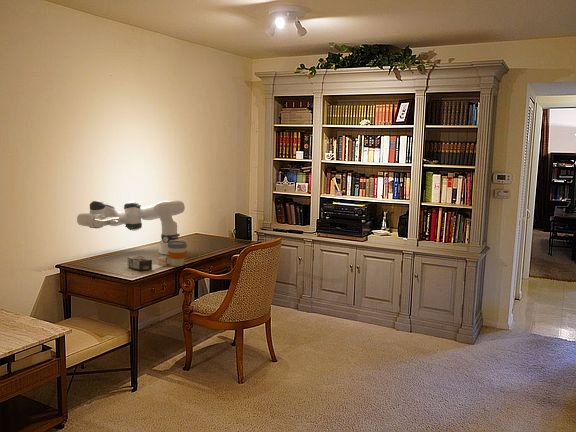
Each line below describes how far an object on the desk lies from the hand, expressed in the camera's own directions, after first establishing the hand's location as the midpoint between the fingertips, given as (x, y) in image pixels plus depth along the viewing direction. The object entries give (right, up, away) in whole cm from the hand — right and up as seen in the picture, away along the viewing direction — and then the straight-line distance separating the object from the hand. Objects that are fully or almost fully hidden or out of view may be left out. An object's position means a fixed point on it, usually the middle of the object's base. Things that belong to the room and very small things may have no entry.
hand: (117, 222), depth 345 cm
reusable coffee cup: (+38, -29, +7) cm, 48 cm away
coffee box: (+11, -25, -2) cm, 28 cm away
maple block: (+28, -28, +7) cm, 41 cm away
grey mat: (+21, -29, -2) cm, 36 cm away
